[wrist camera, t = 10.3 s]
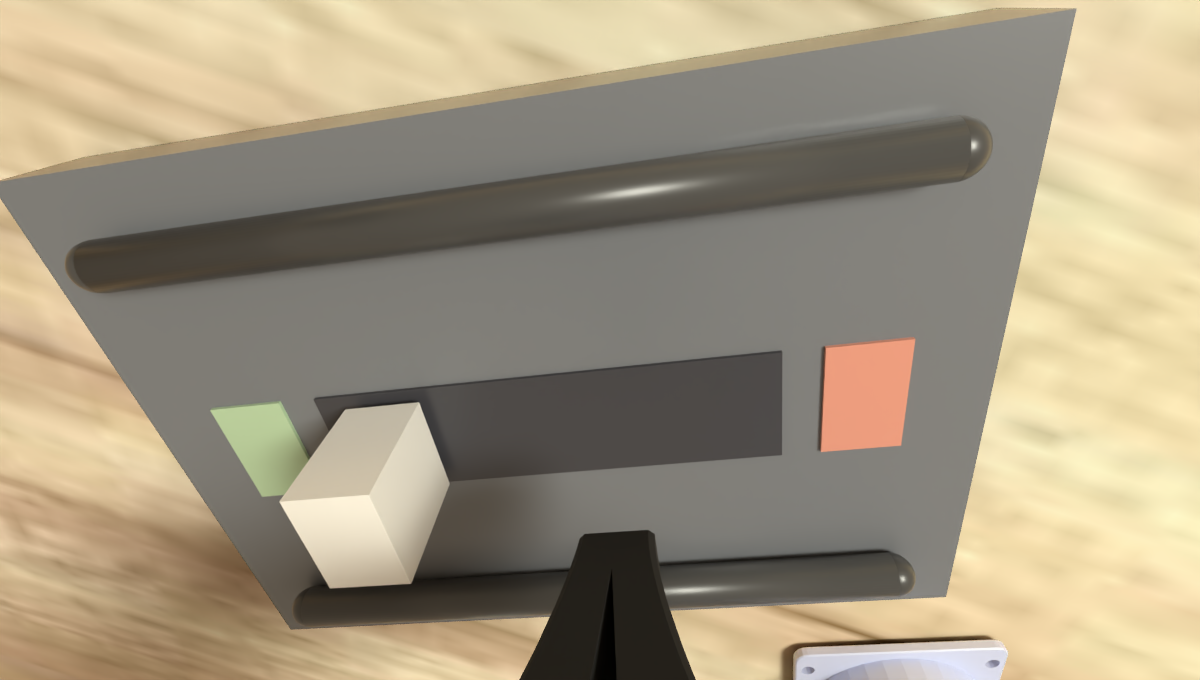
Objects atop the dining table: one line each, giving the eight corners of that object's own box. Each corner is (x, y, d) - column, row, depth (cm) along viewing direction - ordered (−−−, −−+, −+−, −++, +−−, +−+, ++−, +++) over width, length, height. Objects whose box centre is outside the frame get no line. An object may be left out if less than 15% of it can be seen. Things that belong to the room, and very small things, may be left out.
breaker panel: (912, 533, 20) (965, 632, 17) (323, 570, 23) (272, 662, 19) (998, 8, 12) (1127, 8, 9) (83, 156, 15) (-68, 198, 12)
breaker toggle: (449, 483, 16) (411, 583, 13) (381, 488, 16) (329, 588, 13) (419, 402, 15) (368, 494, 12) (345, 409, 15) (279, 501, 12)
